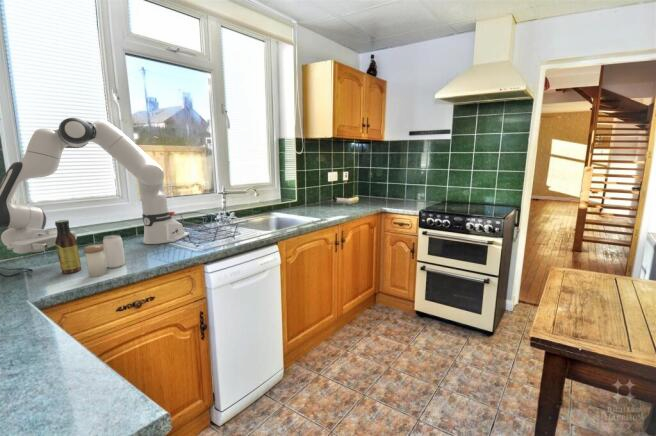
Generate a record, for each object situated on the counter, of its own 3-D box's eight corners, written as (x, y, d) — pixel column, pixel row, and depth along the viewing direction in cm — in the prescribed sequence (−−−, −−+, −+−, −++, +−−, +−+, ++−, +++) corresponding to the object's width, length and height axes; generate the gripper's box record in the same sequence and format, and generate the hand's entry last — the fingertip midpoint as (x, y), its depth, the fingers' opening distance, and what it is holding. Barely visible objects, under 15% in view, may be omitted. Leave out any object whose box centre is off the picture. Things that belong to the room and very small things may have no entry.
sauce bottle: (64, 269, 132) (55, 219, 128) (83, 267, 134) (74, 218, 130) (58, 275, 126) (48, 223, 122) (78, 273, 128) (68, 221, 124)
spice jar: (100, 270, 131) (95, 243, 128) (111, 272, 129) (107, 244, 126) (84, 276, 125) (79, 248, 123) (96, 277, 123) (91, 249, 121)
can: (129, 262, 139) (125, 234, 136) (118, 268, 132) (113, 238, 130) (114, 262, 139) (109, 234, 137) (102, 268, 133) (97, 238, 130)
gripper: (1, 239, 124) (25, 242, 119) (61, 226, 143) (84, 228, 138) (5, 256, 126) (29, 259, 121) (64, 241, 144) (86, 243, 140)
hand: (59, 243), depth 130 cm, fingers open, 8 cm apart
